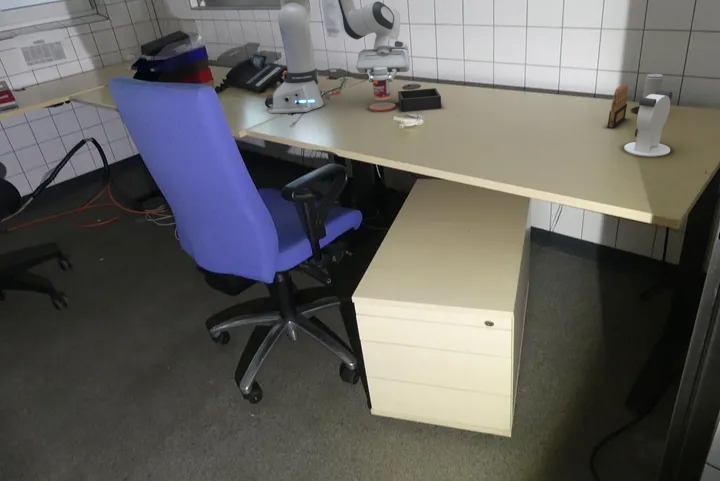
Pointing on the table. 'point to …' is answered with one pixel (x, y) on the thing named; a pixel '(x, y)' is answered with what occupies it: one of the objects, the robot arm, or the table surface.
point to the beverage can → (652, 84)
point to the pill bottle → (381, 84)
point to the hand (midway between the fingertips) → (380, 81)
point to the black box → (419, 99)
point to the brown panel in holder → (618, 106)
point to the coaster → (382, 107)
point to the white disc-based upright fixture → (651, 125)
